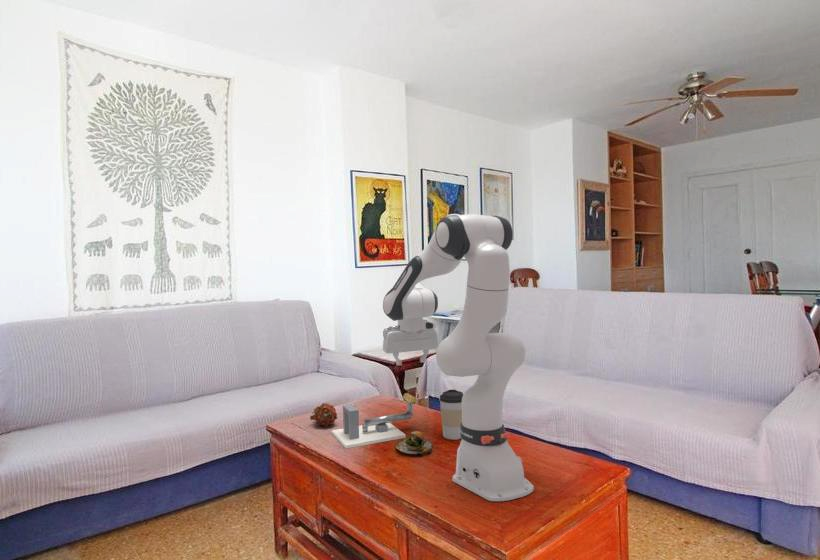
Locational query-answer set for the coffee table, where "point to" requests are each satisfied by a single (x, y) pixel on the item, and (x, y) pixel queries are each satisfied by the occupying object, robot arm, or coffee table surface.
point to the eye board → (355, 436)
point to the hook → (393, 417)
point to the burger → (415, 444)
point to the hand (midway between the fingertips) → (411, 363)
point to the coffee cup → (451, 413)
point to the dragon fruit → (324, 415)
